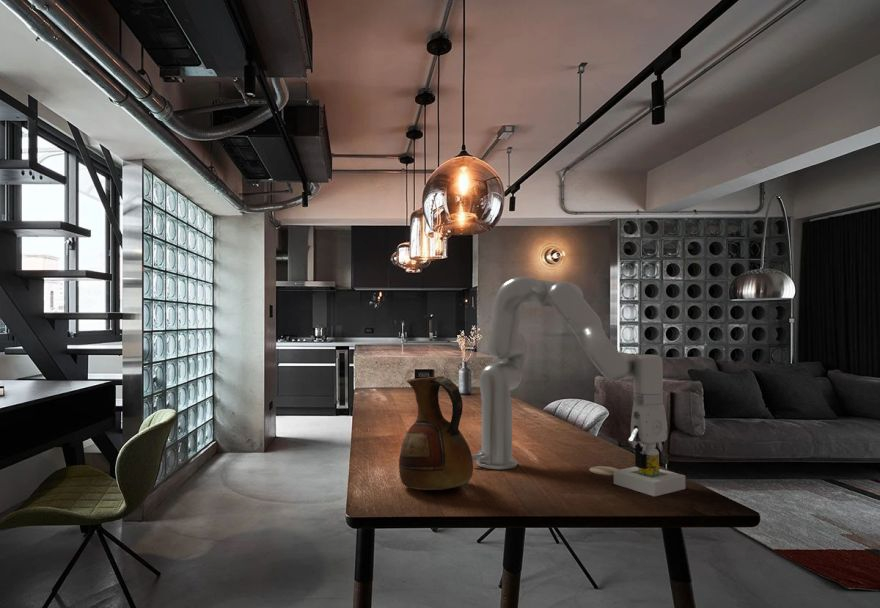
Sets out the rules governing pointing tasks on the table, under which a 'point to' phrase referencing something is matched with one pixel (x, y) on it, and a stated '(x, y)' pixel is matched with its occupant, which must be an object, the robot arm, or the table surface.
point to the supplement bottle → (651, 462)
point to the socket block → (649, 481)
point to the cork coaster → (603, 470)
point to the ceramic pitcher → (435, 441)
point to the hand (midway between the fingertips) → (648, 465)
